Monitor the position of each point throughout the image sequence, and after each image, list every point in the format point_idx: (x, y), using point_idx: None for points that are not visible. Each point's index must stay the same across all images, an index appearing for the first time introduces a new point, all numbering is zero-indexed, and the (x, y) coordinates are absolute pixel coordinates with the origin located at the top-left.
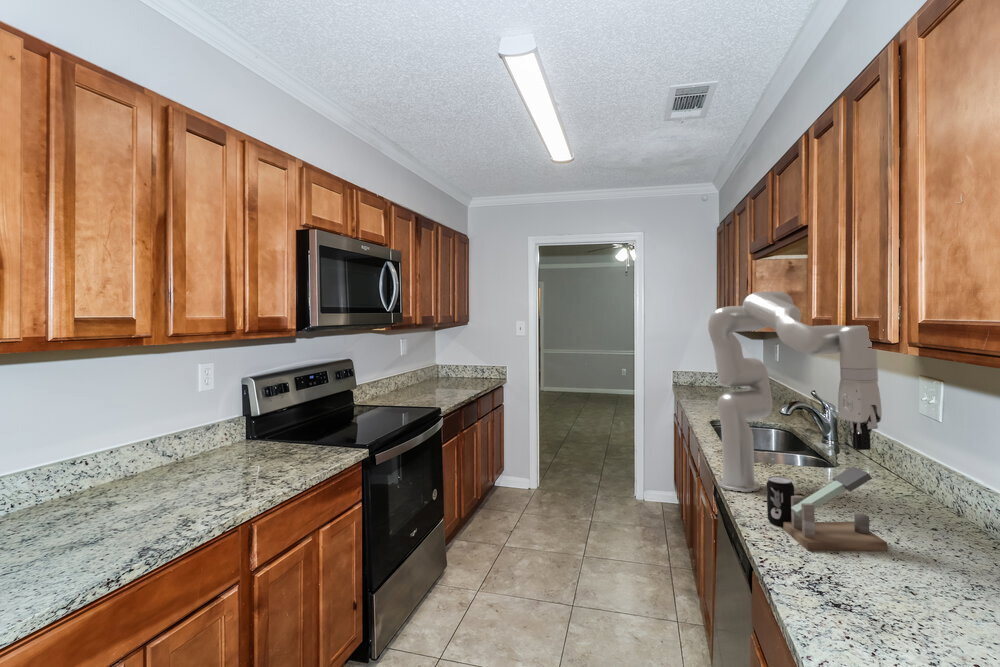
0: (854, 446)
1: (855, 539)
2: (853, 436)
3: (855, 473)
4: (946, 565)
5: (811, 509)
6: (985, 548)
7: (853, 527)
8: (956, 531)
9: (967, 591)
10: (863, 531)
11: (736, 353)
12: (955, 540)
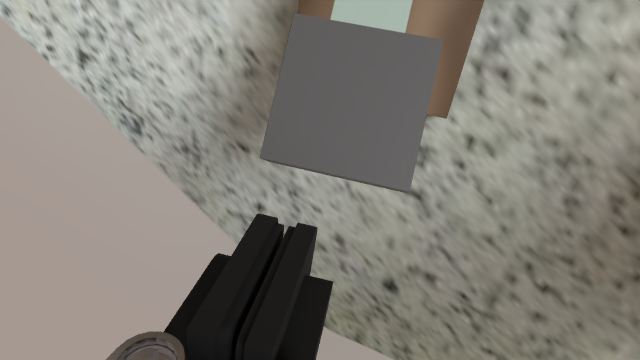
0: (294, 234)
1: (321, 4)
2: (262, 305)
3: (333, 130)
4: (218, 148)
5: None
6: None
7: None
8: (369, 311)
9: (111, 84)
10: None
11: None
12: (328, 271)
